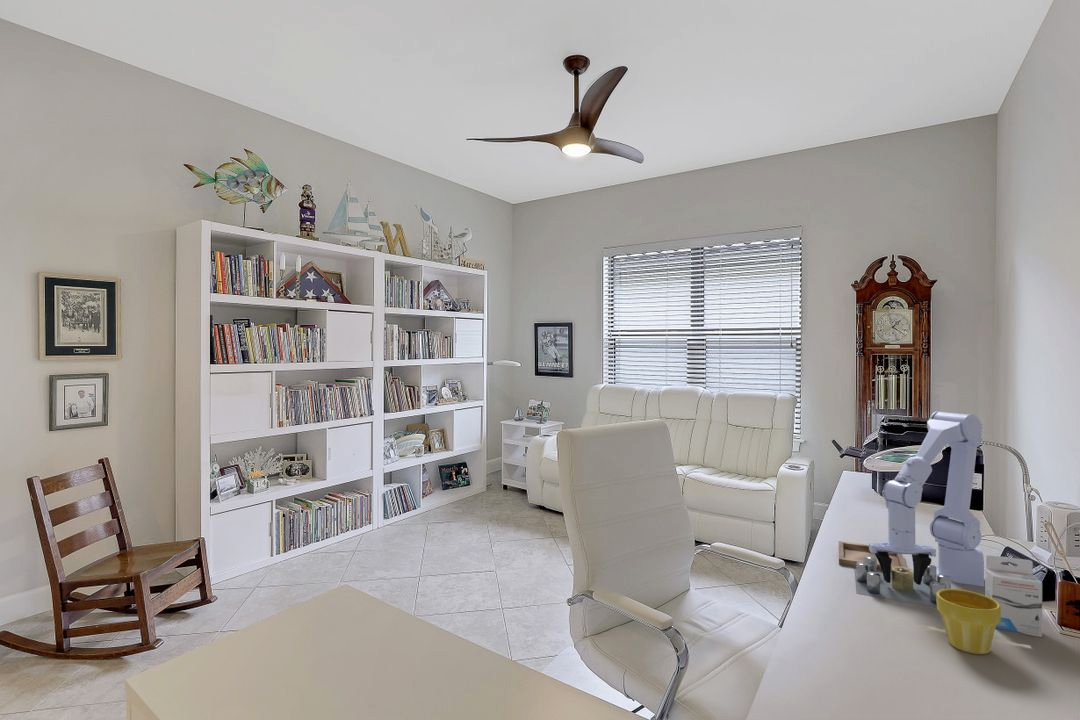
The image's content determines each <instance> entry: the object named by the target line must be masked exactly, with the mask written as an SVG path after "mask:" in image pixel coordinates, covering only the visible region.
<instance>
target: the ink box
mask: <svg viewBox="0 0 1080 720" xmlns="http://www.w3.org/2000/svg"><path fill="white" fill-rule="evenodd" d="M1002 563H1011V564H1016V565H1006V564H1002ZM1033 565H1034V562H1033V561H1032V560H1031V559H1024V558H1015V557H1007V556H1002V555H1001V556H999V555H990V554H989V555H986V565H985V567H986V568H984V585H985V586H984V587H985V588H984V591H985V592H984V594H985V596H988V597H990V598H992V599H994V600H995V601H997V602H998V603H999V604H1000V607H1001V621H1000V623H999V624H998V625H996V628H995V629H999V630H1006V631H1011V632H1017V633H1019V632H1020V633H1022V635H1026V636H1033V637H1038V638H1042V637H1043V582H1042V581H1041V580H1040V579H1039V578H1038V577H1037V576H1036V575H1034V573H1033Z"/></svg>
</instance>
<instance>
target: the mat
mask: <svg viewBox="0 0 1080 720" xmlns="http://www.w3.org/2000/svg"><path fill="white" fill-rule="evenodd" d="M853 571H854V579H855V581H854V582H855V592H856V594H857V595H861V596H867V597H873V598H880V599H885V600H891V601H898V602H901V603H908V604H913V605H917V606H918V605H919V606H924V607H931V608H936V609H937V605H936V604H933V603H931V602H930V585H926V584H924V583H923V578H922V581H921V585H918V584H916V583H915V582H914V578H913V591H907V592H903V591H900V590H897V589H894V588H892V584H891V581H890V583H887V582H886V581H885V580H884V576H883V572H882V571H878V570H877V573H878V574H880V594H871V593H869V592H868V591H867V584H865V583H860V582H858V581H857V570H856V567H854V570H853ZM890 574H891V572H890Z"/></svg>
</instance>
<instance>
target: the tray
mask: <svg viewBox="0 0 1080 720" xmlns="http://www.w3.org/2000/svg"><path fill="white" fill-rule="evenodd" d="M888 555H889V557H890V558H891V559H892V562H891V567H904V568H907V565H906V562H905V558H904V554H894V553H888ZM865 556H873V557H876V556H875V554H874V553H871V552H870V551H869V544H861V543H856V542H855V543H853V542H848V541H841V540H838V565H839V566H846V567H852V568H853V567H854V568H856V563H857V562H863V563H865ZM876 558H877V557H876ZM877 571H878V572H882V569H881V566H880V564H879V561H878V559H877ZM890 573H891V569H890Z"/></svg>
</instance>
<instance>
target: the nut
mask: <svg viewBox="0 0 1080 720" xmlns="http://www.w3.org/2000/svg"><path fill="white" fill-rule="evenodd" d="M890 573H891V584H892V588H894V589H897V590H900V591H903V592H907V591H913V569H911V568H904V567H891V572H890Z"/></svg>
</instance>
